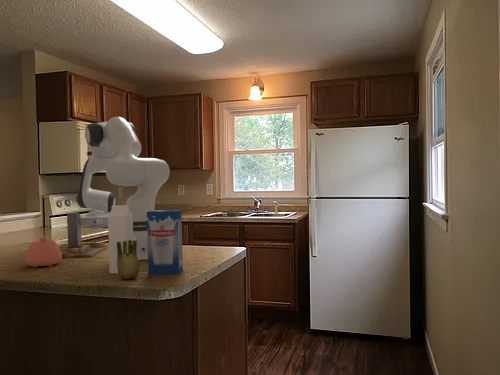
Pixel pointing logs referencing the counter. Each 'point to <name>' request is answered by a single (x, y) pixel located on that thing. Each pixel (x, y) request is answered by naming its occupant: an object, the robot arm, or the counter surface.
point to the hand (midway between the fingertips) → (84, 222)
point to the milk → (118, 232)
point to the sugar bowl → (43, 253)
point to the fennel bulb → (127, 260)
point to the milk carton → (164, 242)
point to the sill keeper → (79, 251)
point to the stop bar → (74, 230)
